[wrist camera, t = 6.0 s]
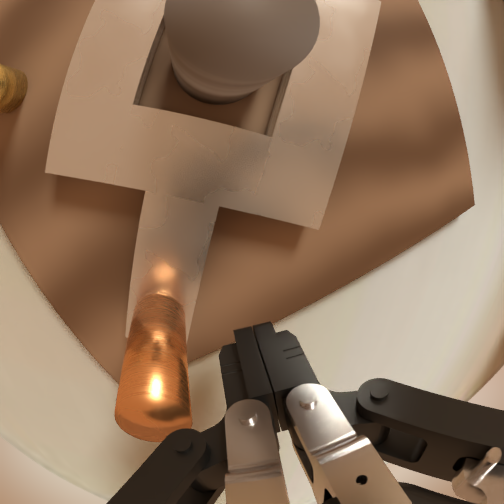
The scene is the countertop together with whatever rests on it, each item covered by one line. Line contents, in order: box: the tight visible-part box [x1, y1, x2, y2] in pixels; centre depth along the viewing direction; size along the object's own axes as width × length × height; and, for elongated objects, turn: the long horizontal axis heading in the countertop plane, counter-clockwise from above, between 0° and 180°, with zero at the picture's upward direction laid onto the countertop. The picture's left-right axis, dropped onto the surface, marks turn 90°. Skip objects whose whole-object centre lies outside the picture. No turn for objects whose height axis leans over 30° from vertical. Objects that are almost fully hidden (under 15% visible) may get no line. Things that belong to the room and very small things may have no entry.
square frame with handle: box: [45, 0, 381, 442], centre depth 9 cm, size 19×12×7 cm, turn 164°
